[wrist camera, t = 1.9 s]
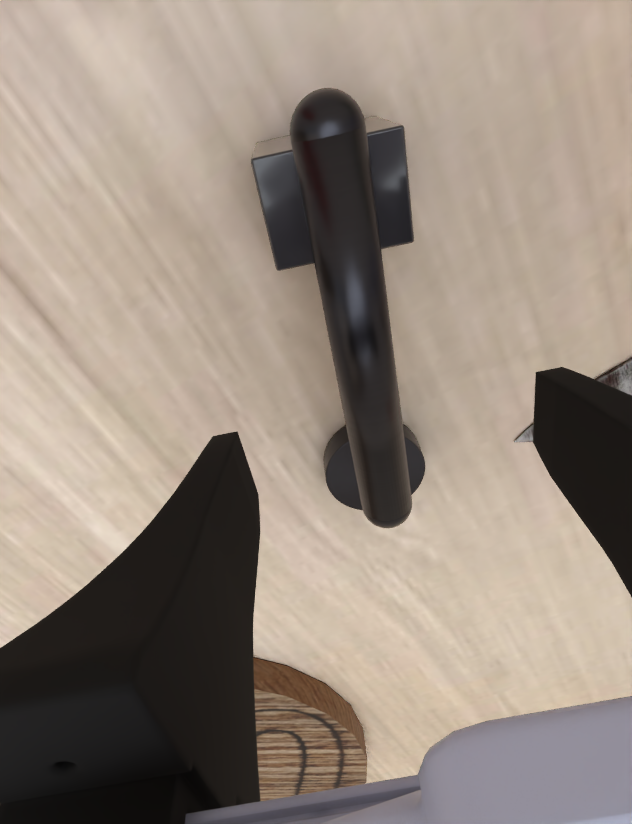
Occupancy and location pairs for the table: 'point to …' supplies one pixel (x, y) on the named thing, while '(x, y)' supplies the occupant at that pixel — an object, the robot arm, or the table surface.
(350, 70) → the table surface
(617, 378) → the knife
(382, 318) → the crank handle
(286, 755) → the trivet
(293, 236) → the dark grey cube
